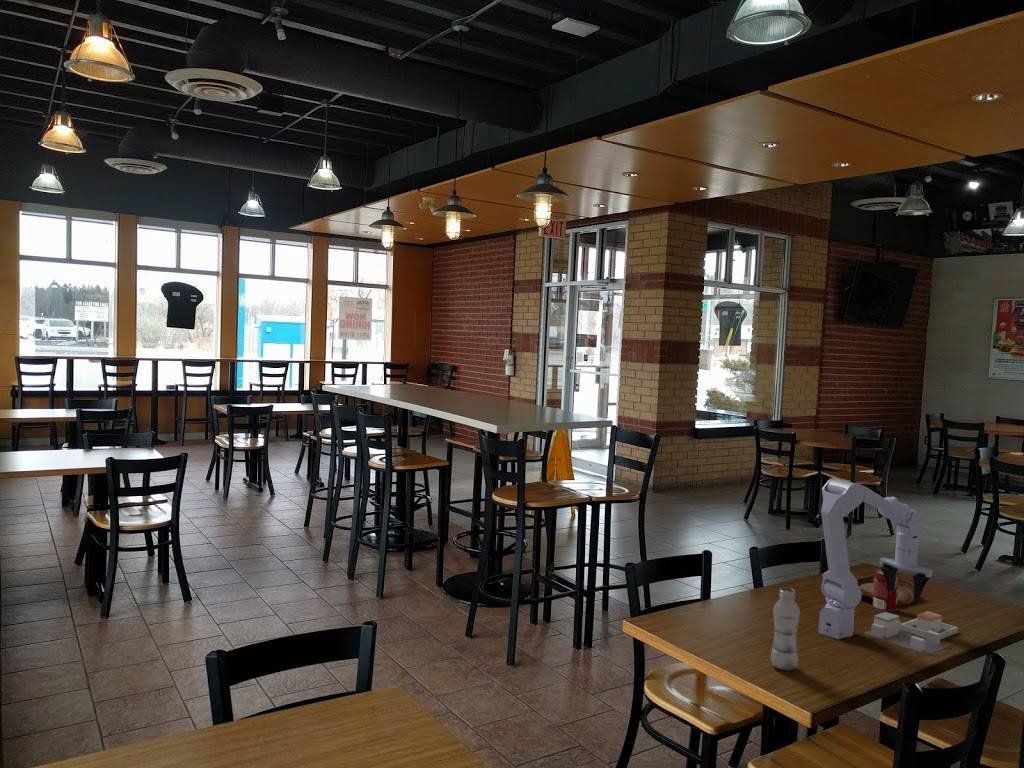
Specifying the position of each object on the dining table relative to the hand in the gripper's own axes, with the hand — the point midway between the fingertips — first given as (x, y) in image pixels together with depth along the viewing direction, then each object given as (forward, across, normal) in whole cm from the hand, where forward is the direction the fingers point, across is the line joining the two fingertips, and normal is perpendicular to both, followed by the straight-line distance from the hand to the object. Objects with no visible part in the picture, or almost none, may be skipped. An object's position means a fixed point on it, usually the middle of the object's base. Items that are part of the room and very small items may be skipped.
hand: (903, 594), depth 222 cm
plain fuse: (+9, -1, +11) cm, 14 cm away
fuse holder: (+10, -7, +11) cm, 16 cm away
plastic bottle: (+10, 0, +56) cm, 57 cm away
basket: (+10, +20, -23) cm, 32 cm away
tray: (+10, -6, -2) cm, 12 cm away
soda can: (+10, +12, -11) cm, 19 cm away
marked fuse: (+9, -7, -2) cm, 11 cm away
